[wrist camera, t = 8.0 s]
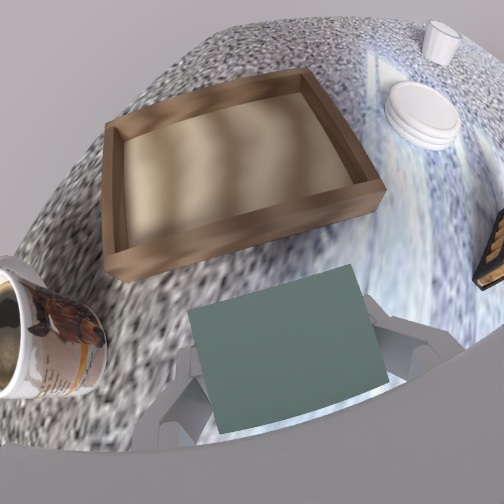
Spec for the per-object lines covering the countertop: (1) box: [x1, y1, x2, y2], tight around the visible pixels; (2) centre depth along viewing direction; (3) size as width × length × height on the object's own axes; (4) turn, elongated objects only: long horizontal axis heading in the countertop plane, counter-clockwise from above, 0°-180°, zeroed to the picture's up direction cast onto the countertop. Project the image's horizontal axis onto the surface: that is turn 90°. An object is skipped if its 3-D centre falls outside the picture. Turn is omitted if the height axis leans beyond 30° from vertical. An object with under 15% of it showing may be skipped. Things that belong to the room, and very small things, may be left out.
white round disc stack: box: [385, 81, 461, 151], centre depth 29 cm, size 10×10×4 cm
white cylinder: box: [422, 19, 462, 66], centre depth 33 cm, size 7×7×7 cm
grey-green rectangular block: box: [187, 264, 389, 434], centre depth 11 cm, size 4×3×10 cm
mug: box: [0, 255, 107, 399], centre depth 19 cm, size 10×12×11 cm
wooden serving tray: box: [102, 67, 387, 283], centre depth 28 cm, size 24×18×4 cm
